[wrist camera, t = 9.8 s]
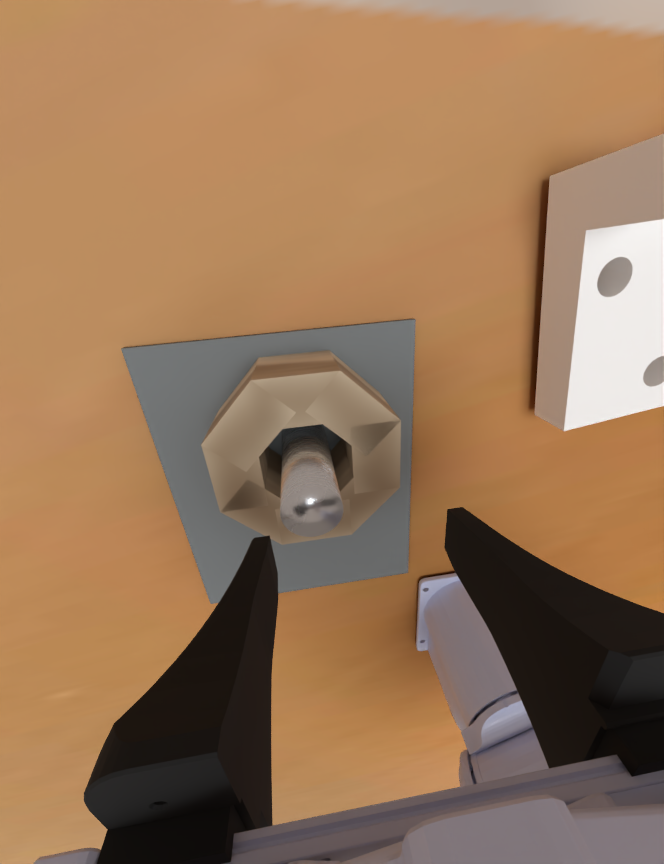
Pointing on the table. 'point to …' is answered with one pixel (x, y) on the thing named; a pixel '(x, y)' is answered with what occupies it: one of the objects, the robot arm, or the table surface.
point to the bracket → (603, 289)
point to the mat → (273, 447)
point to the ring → (296, 407)
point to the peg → (308, 483)
